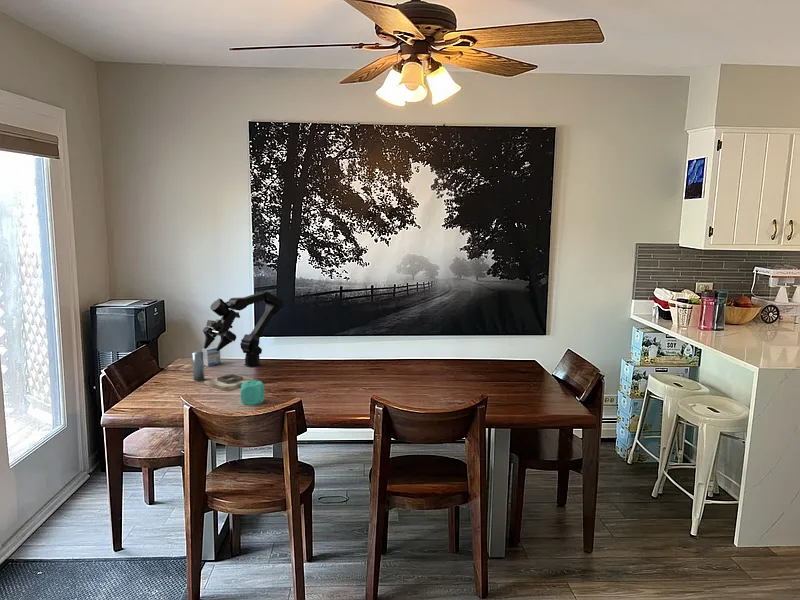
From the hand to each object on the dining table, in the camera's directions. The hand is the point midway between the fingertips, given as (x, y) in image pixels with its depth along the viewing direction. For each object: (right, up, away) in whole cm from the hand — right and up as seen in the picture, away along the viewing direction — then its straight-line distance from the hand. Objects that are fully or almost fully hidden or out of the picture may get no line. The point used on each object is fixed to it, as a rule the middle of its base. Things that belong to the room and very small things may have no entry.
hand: (210, 349), depth 281 cm
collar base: (+12, -15, -11) cm, 22 cm away
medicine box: (-7, -10, +24) cm, 26 cm away
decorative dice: (+29, -19, -38) cm, 51 cm away
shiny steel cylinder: (-4, -14, -4) cm, 15 cm away
